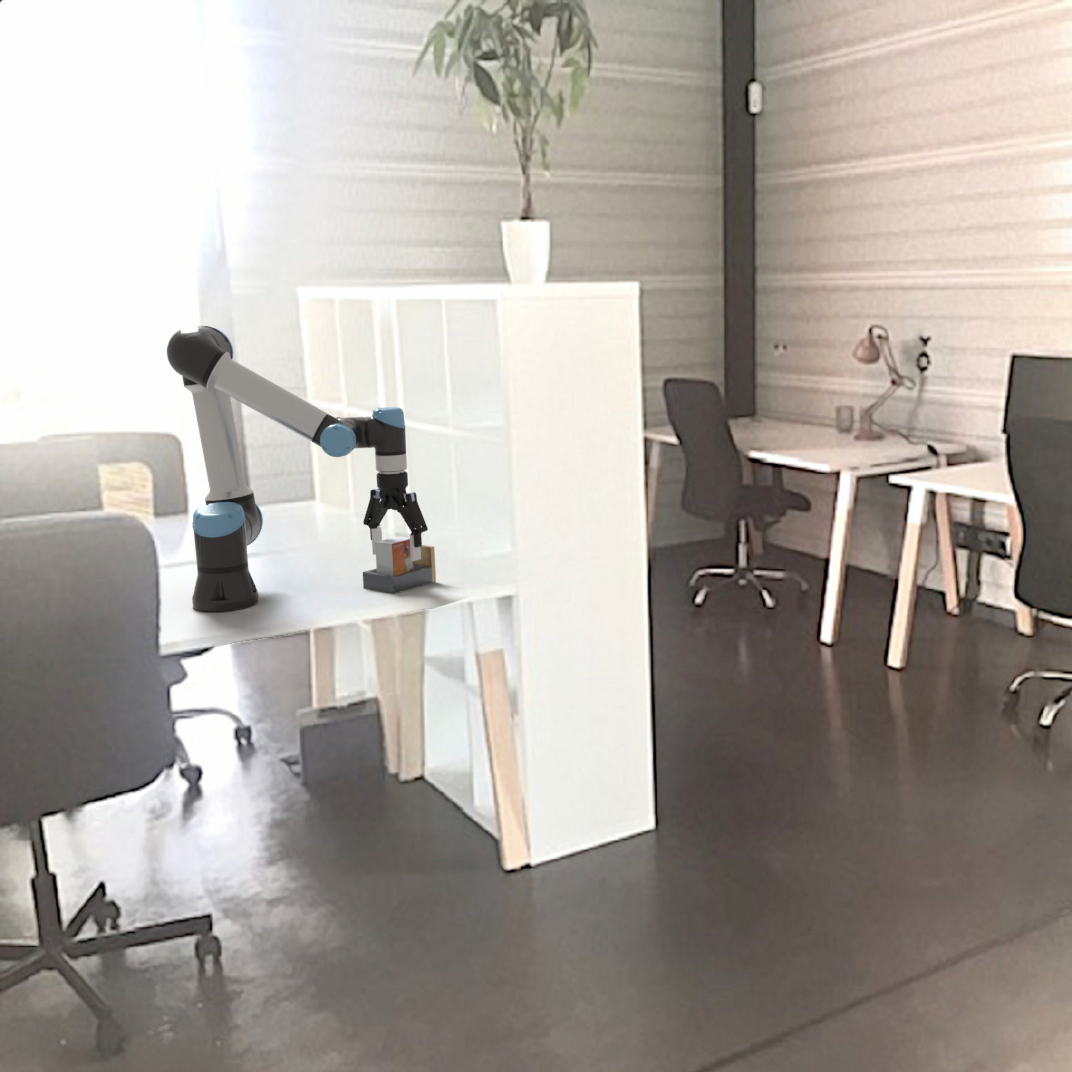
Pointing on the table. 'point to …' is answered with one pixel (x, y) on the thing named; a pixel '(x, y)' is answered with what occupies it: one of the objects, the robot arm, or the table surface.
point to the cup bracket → (404, 575)
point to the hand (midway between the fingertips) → (396, 557)
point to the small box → (394, 556)
